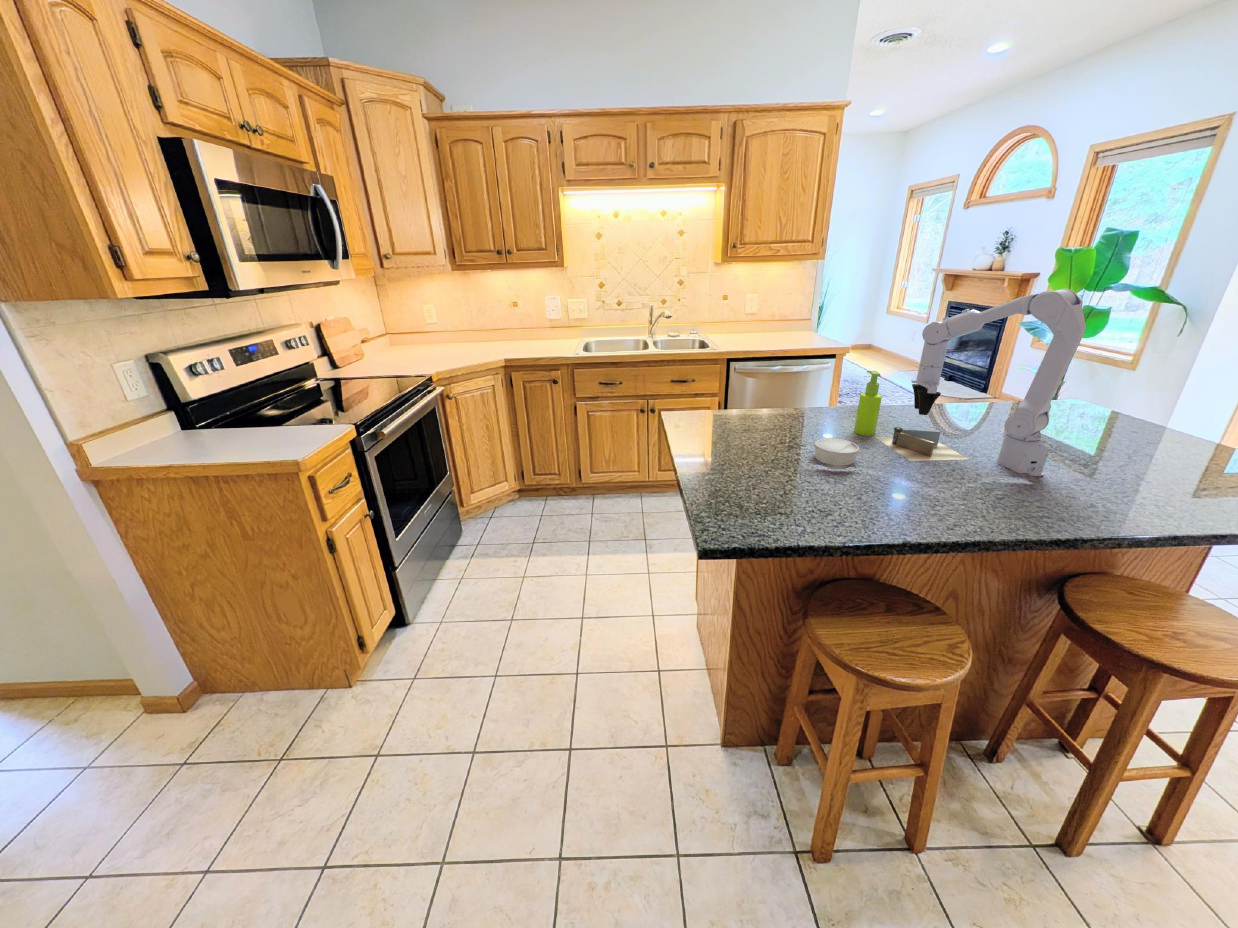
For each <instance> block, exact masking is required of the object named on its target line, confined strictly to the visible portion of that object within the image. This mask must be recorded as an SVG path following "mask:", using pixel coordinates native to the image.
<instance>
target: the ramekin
mask: <svg viewBox="0 0 1238 928" xmlns="http://www.w3.org/2000/svg"><path fill="white" fill-rule="evenodd" d="M813 447H814V456H815V457H814V458H815V459H816V460H817V461H819V462H821V463H823V464H819V465H821V466H822V467H825V468H830V469H834V470H835V469H836V470H845V469H849V468H850V467H851V465H853V464H854V463H855V461H856V459H857V456H858V454H859V452H860V447H859V445H858V444H856V443H854V442H853V441H850V440H846V439H841V438H834V437H832V438H831V437H828V438H825V437H824V438H820V439H817V440H815V441H814V445H813Z"/></svg>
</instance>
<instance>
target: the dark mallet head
mask: <svg viewBox="0 0 1238 928" xmlns="http://www.w3.org/2000/svg"><path fill="white" fill-rule="evenodd" d="M903 429H904V428H902V427H899V426H895V427H894V428H893V430H894V431H893V436H892V437H893V440H892V444H894V445H896V446H898V447H901V448H904V449H907V450H910V451H913V452H916V453H919V454H922V455H925V456H928V457H931V456H932V453H933V449H934V444H935V442H931V441H928V440H925V439H921V438H918V437H915V436H912V435H908V434H905V433H902V432H901V431H902V430H903Z"/></svg>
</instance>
